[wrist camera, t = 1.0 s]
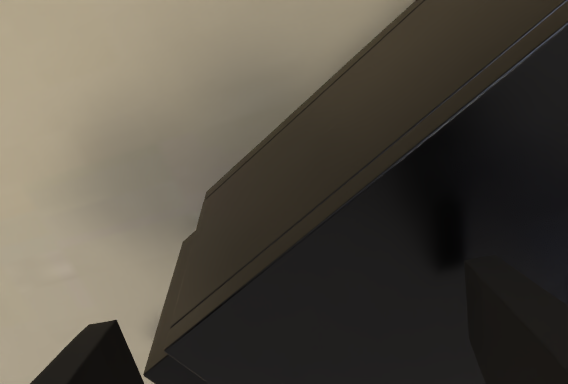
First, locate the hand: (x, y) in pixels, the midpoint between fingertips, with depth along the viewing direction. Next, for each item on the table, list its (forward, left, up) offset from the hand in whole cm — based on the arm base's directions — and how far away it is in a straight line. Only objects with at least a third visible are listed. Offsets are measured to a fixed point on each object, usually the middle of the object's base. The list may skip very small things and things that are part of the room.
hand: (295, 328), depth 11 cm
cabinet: (-5, -3, -10) cm, 12 cm away
